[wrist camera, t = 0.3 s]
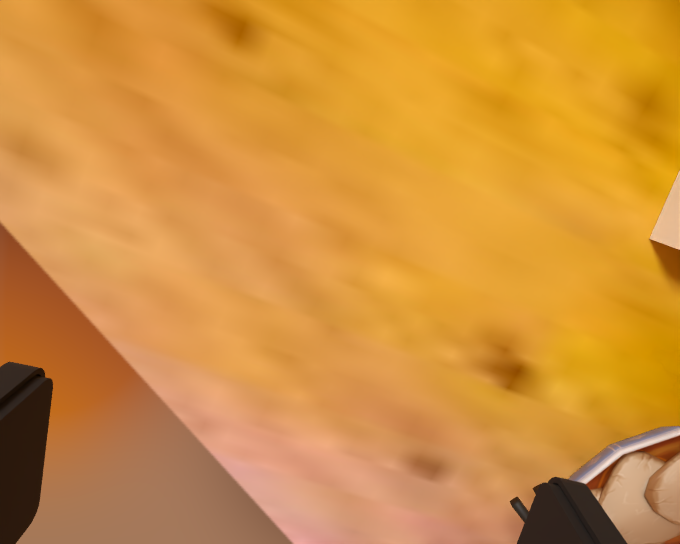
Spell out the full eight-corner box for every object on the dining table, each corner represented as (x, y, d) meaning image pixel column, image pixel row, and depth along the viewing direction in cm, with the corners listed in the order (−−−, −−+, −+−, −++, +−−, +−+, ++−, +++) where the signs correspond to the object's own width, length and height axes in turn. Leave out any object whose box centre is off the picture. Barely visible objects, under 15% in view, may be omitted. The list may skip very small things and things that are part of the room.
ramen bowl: (820, 540, 48) (917, 623, 40) (584, 656, 51) (630, 755, 43) (702, 312, 42) (787, 356, 34) (445, 459, 45) (468, 530, 37)
